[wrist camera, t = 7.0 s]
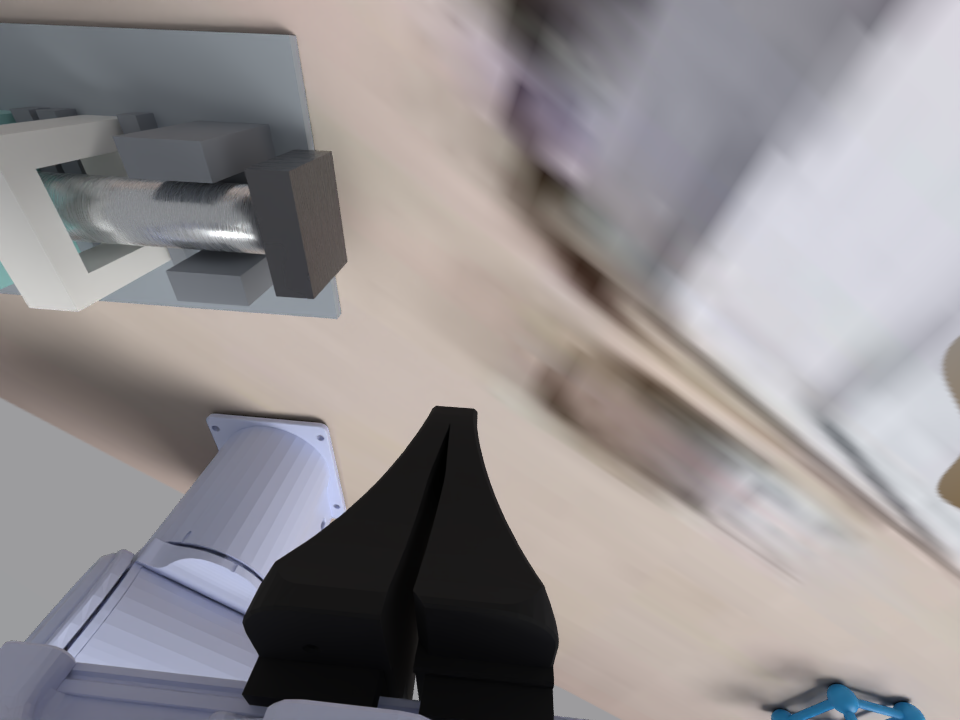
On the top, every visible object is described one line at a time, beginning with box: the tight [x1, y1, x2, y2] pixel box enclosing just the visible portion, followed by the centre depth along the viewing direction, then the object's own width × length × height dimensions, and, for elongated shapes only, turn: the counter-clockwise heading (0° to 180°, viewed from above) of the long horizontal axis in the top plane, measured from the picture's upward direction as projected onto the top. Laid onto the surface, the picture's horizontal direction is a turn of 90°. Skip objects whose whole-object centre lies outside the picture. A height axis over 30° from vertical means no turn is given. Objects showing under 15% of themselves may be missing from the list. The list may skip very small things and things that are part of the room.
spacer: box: [0, 115, 172, 312], centre depth 18 cm, size 6×2×6 cm, turn 178°
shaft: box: [37, 149, 347, 299], centre depth 17 cm, size 5×16×4 cm, turn 88°
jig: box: [0, 23, 341, 319], centre depth 18 cm, size 12×20×5 cm, turn 88°
